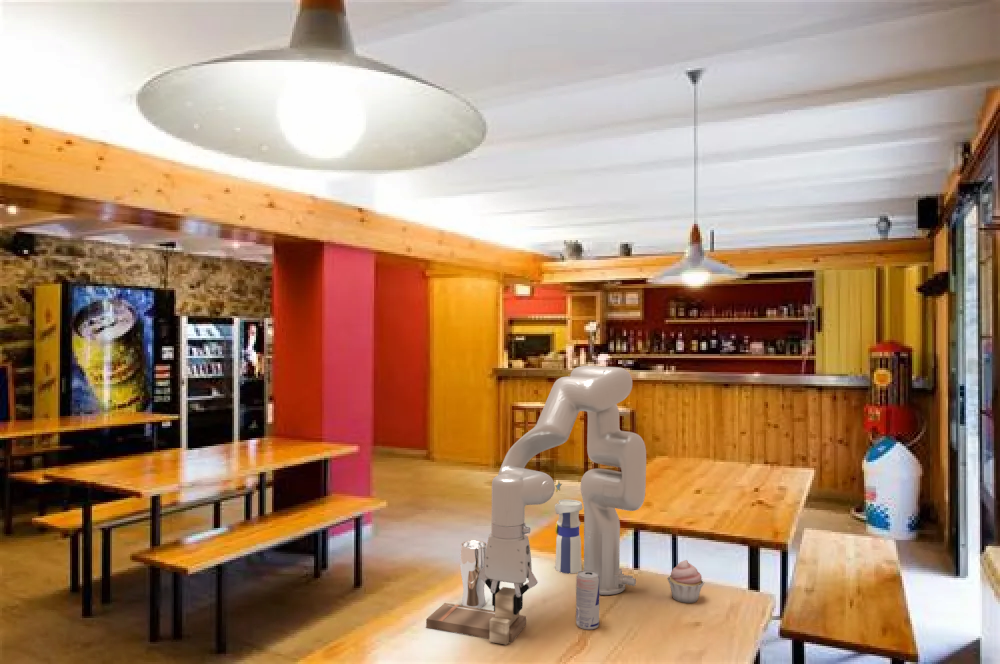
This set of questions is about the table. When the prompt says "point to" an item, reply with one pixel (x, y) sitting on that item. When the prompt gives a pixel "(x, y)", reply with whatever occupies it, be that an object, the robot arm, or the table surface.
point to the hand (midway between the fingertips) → (507, 609)
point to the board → (469, 621)
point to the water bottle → (568, 536)
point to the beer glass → (472, 572)
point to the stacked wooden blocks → (502, 616)
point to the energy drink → (587, 599)
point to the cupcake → (685, 582)
